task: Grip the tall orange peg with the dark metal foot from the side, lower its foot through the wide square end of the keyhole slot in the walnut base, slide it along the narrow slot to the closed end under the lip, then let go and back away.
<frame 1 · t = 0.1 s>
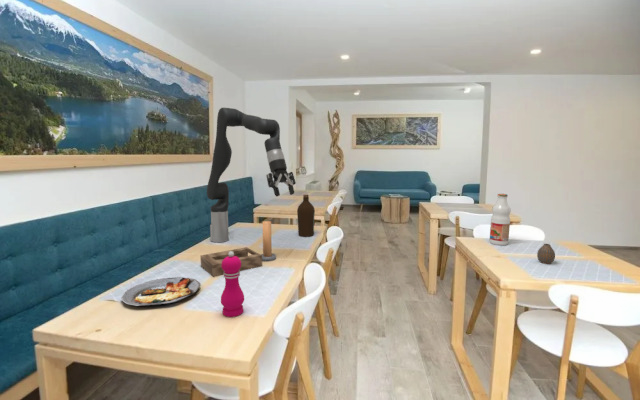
hand: (285, 195, 151), 31 cm above the table, tool tilted 20°, fingers open, 8 cm apart
food plate: (163, 295, 120), on the table
pepper mill: (233, 313, 107), on the table
fruit juice: (498, 243, 190), on the table
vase: (545, 263, 157), on the table
keyhole base: (231, 266, 150), on the table
olive oil: (306, 235, 207), on the table
peg: (267, 258, 161), on the table
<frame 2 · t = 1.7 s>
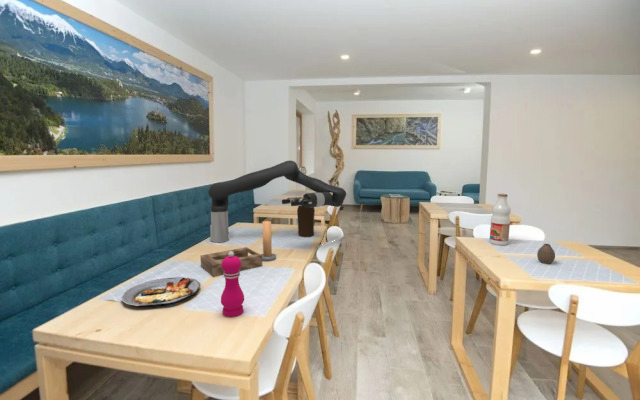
hand: (286, 202, 164), 26 cm above the table, tool horizontal, fingers open, 8 cm apart
nothing on the table moved.
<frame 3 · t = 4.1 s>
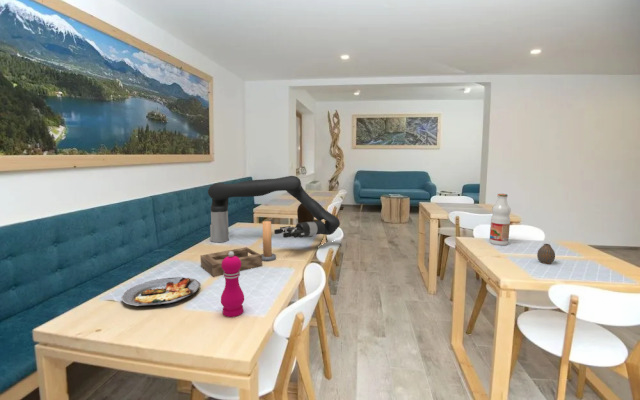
hand: (279, 233, 163), 11 cm above the table, tool horizontal, fingers open, 8 cm apart
nothing on the table moved.
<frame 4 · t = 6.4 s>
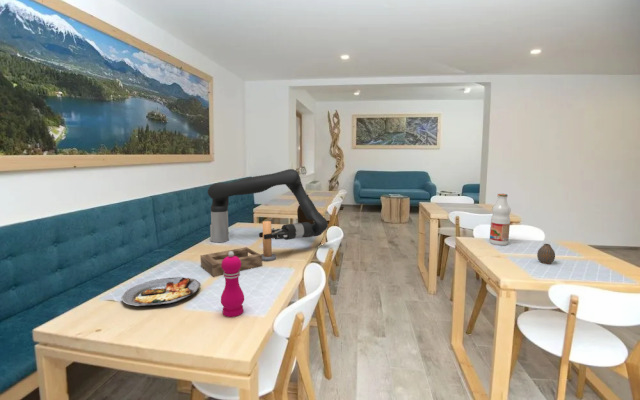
hand: (261, 236, 158), 12 cm above the table, tool horizontal, fingers closed on peg, 4 cm apart
peg: (267, 258, 161), on the table, touching gripper
everything else where it was.
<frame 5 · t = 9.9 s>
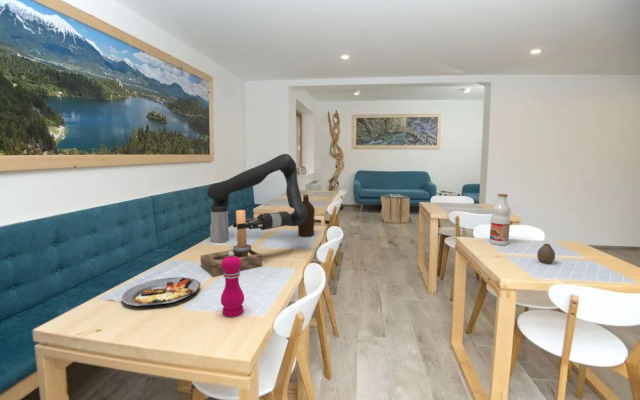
hand: (235, 225, 149), 18 cm above the table, tool horizontal, fingers closed on peg, 4 cm apart
peg: (242, 249, 152), point 7 cm above the table, touching gripper
everything else where it was.
when the fingers open (12 cm above the table, at t = 13.8 s): peg stays where it is, resting in keyhole base.
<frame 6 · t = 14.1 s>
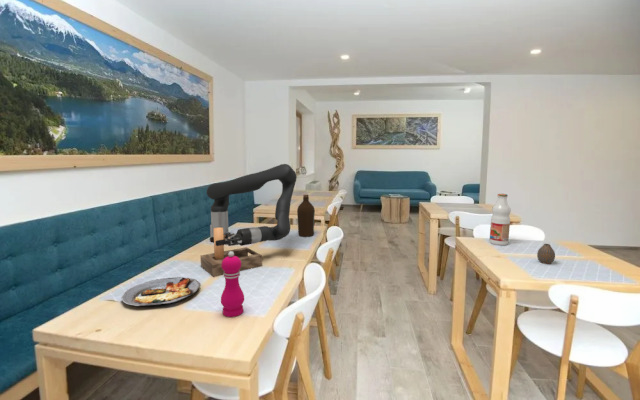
hand: (213, 241, 144), 12 cm above the table, tool horizontal, fingers open, 6 cm apart
peg: (219, 268, 147), resting in keyhole base
everything else where it was.
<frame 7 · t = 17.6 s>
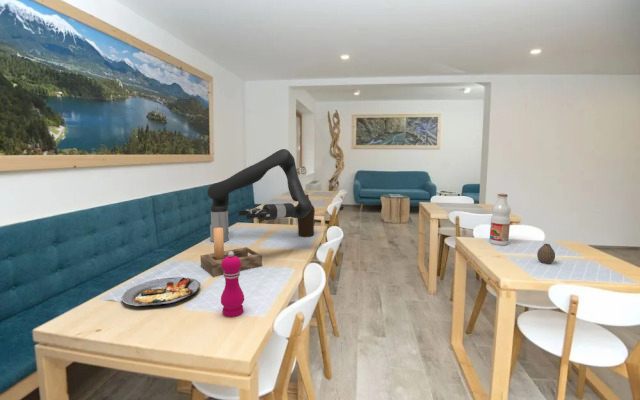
hand: (242, 214, 151), 23 cm above the table, tool horizontal, fingers open, 8 cm apart
nothing on the table moved.
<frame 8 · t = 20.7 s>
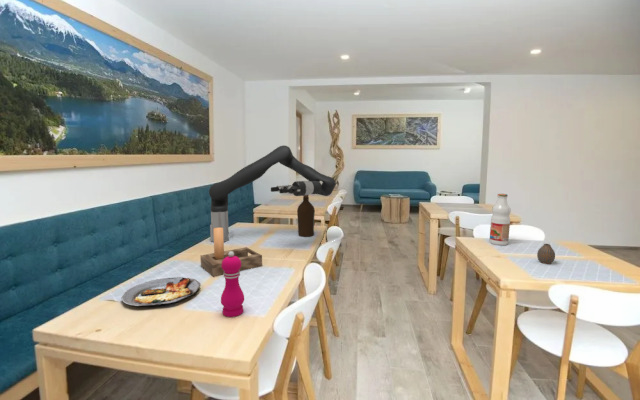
hand: (275, 190, 165), 32 cm above the table, tool horizontal, fingers open, 8 cm apart
nothing on the table moved.
at the end: peg 0.3 cm from the target spot on the keyhole base, point 0.0 cm above the keyhole base's base; peg tilted 0°; the gripper is holding nothing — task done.
